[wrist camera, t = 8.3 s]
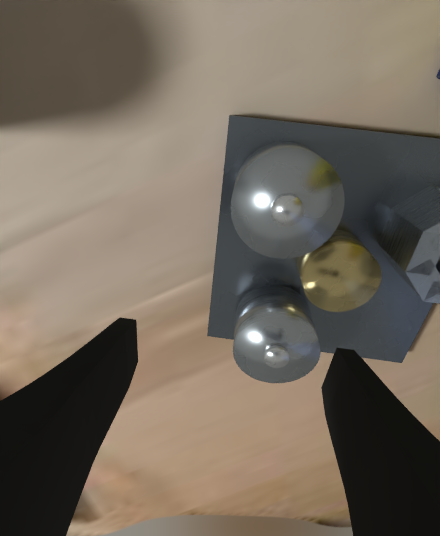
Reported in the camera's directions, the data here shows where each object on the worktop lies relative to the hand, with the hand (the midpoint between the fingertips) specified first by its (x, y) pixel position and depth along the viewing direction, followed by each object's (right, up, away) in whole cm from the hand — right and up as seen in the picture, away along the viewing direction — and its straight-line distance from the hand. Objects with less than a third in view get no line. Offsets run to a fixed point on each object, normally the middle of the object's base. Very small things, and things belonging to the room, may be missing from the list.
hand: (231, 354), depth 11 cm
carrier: (+6, +4, +8) cm, 11 cm away
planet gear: (+11, +5, +6) cm, 14 cm away
